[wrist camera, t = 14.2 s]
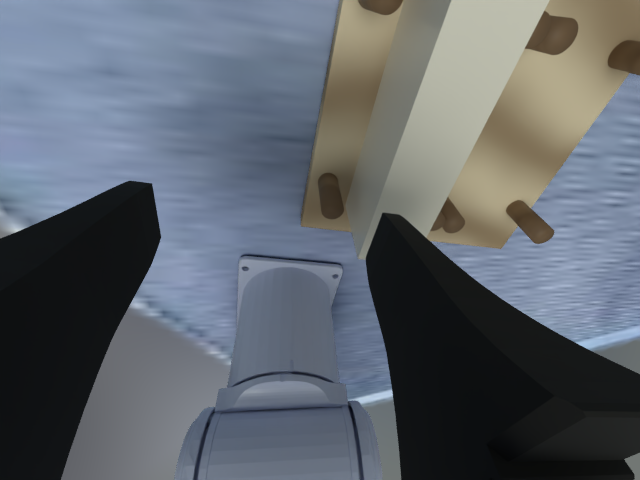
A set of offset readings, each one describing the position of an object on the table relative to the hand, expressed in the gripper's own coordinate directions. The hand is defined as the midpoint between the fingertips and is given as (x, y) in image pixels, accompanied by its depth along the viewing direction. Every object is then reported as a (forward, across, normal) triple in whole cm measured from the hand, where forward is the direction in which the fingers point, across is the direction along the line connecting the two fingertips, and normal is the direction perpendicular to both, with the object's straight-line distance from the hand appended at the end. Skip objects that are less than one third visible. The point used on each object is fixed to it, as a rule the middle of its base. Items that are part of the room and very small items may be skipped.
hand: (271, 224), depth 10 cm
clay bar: (+8, -6, -2) cm, 10 cm away
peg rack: (+9, -10, -2) cm, 14 cm away
